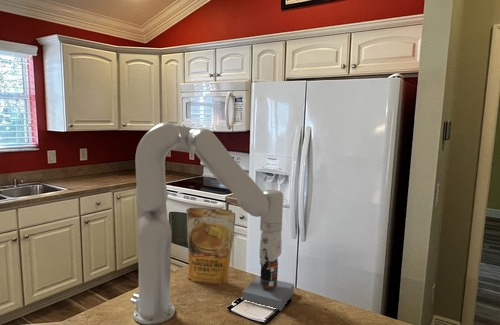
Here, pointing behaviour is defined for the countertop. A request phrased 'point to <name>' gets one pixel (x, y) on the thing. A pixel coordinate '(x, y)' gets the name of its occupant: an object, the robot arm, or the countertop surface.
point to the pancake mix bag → (209, 244)
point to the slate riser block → (269, 294)
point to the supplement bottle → (271, 275)
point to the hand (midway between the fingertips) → (268, 275)
